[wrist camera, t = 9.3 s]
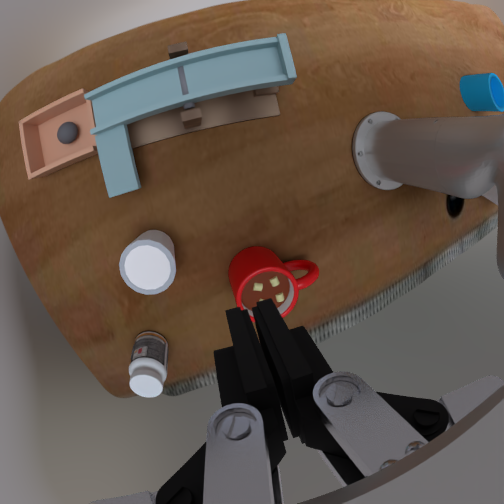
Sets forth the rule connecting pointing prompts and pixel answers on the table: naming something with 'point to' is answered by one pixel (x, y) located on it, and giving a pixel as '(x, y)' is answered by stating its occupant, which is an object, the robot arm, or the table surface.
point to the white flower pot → (492, 195)
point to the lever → (179, 95)
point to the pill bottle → (148, 364)
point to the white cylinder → (149, 263)
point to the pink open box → (45, 135)
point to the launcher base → (203, 112)
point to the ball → (67, 132)
